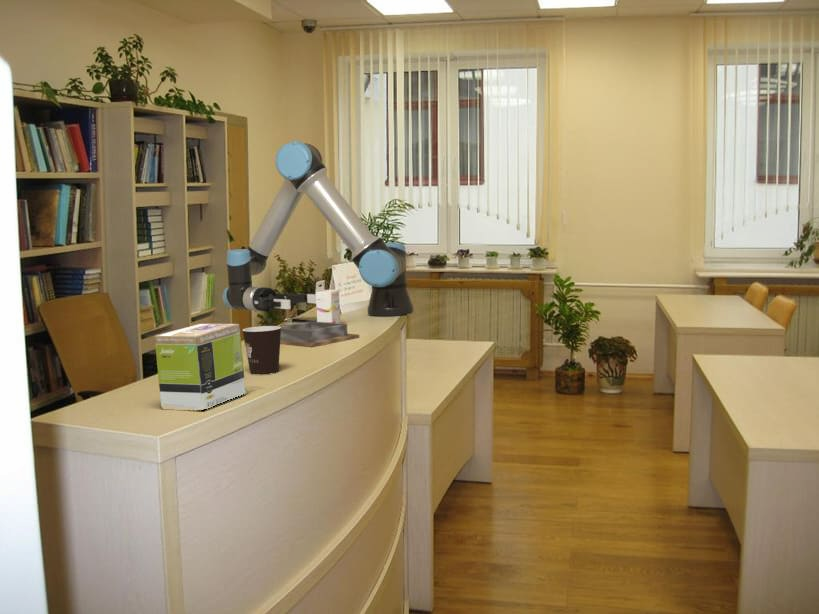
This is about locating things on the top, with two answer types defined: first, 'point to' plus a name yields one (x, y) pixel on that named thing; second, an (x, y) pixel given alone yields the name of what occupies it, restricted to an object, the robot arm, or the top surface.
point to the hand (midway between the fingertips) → (306, 301)
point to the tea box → (200, 365)
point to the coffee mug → (263, 348)
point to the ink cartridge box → (327, 304)
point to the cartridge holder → (314, 334)
